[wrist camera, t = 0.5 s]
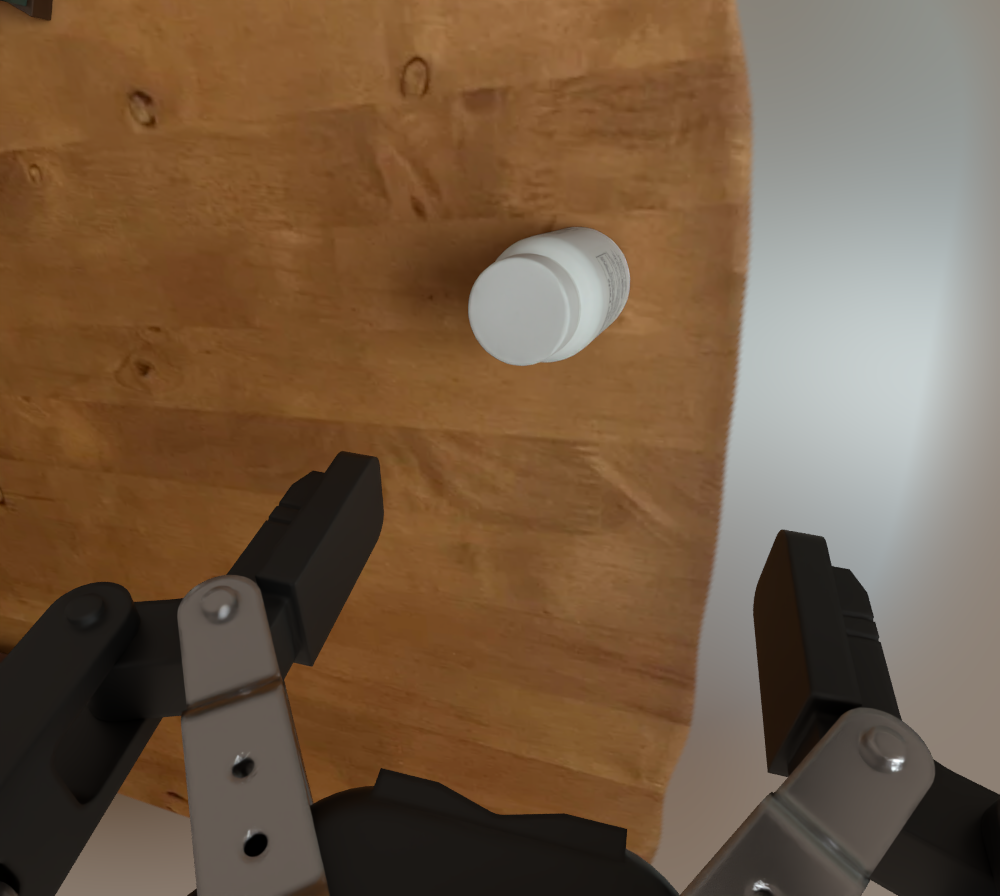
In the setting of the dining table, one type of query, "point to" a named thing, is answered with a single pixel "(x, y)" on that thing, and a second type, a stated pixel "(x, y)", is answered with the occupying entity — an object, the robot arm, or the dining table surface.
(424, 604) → the dining table surface
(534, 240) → the pill bottle
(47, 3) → the dock
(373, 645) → the dining table surface
